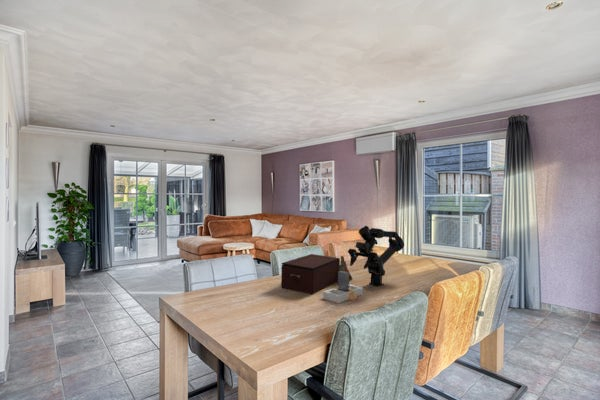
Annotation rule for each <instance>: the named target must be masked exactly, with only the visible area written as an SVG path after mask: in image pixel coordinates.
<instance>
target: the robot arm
mask: <svg viewBox="0 0 600 400" xmlns="http://www.w3.org/2000/svg"><path fill="white" fill-rule="evenodd" d="M358 235H360V237H361V238H362V240H363V241H364V242H360V241H356V243H355V246H354V247H355V248H357V250H356V249H355V248H349V249H348V250H347V253H348V254H349V256H350V263H349V266H350V267H352V266H353V265H354V264H355V263H356V261H357V260H358V259H357V258H359V257H363V258H367V260H366V261H365V264H364V265H363V269H364V270H365V269H367V272H368V274H370V282H369V283H368V284H369V285H372V286H375V287H379V286H384V285H385V283H383V276H385V274H386V270H385V269H384V265H385V264H386V263H387V262H388V261H389V259H390V258H391V257H393V255H394V254H395V253H396V252H400V251H401V250H403V248H404V247H405V243H404V240H403V238H402V237H401V236H399V234H398V232H397V231H394V230H393V231H391V230H389V231H388V230H383V229H381V228H376V227H375V228H374V227H371V228H370V227H369V226H367V225H364V226H363V227H361V228H360V229H359V230H358ZM383 238H388V247H387V248H386V249H385V251H383V252H382V253H381V254H380V255H378V253H377V252H374V247H375V246H376V245H378V240H377V239H383Z"/></svg>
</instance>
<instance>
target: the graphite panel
mask: <svg viewBox="0 0 600 400" xmlns="http://www.w3.org/2000/svg"><path fill="white" fill-rule="evenodd" d="M349 272H350V271H349ZM349 272H345V271H339V272H338V282H337V287H338V290H341V291H344V292H347V291H349V284H350V281H349Z"/></svg>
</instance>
